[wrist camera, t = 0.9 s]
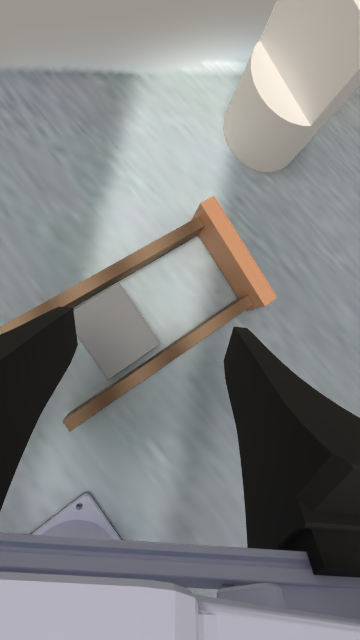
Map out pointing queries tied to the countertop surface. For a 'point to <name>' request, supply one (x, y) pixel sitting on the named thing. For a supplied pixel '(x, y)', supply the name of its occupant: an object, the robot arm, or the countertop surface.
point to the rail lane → (204, 223)
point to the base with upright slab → (294, 80)
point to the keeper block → (113, 330)
